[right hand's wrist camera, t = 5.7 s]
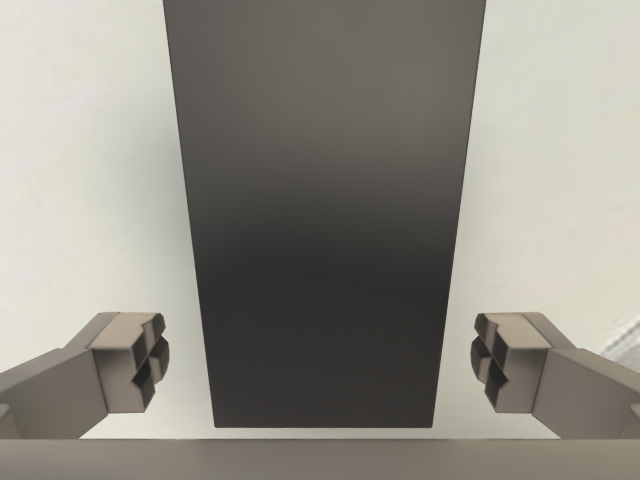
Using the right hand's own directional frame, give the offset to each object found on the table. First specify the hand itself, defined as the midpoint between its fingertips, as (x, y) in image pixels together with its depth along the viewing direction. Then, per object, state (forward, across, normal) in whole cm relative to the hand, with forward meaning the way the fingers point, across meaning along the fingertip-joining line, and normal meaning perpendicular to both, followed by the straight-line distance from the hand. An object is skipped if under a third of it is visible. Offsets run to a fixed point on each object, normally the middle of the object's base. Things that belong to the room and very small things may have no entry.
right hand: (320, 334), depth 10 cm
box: (+9, 0, +9) cm, 13 cm away
